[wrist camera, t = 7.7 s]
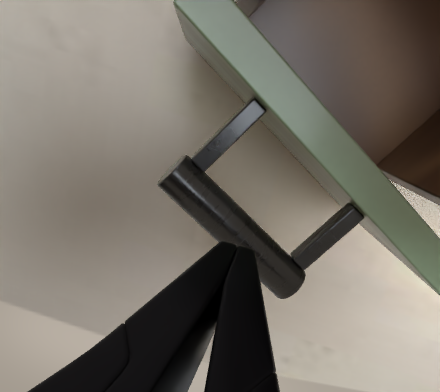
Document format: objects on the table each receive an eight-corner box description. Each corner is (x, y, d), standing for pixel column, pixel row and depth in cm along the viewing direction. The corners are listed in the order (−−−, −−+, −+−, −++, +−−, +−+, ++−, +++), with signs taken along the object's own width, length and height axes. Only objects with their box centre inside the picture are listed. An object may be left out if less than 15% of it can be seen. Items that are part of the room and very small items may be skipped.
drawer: (289, 262, 22) (344, 373, 14) (124, 101, 19) (66, 117, 11) (556, 28, 19) (834, -13, 11) (410, -202, 16) (633, -503, 8)
